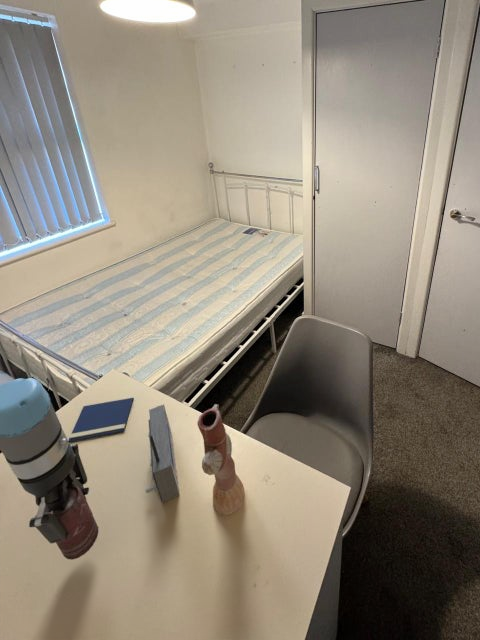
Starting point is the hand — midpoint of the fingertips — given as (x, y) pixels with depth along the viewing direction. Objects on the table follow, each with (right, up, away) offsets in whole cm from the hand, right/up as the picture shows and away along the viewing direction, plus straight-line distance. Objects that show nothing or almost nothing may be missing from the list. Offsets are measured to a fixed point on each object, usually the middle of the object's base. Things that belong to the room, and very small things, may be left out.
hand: (81, 528), depth 65 cm
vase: (+27, -3, +10) cm, 29 cm away
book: (-13, +6, +29) cm, 32 cm away
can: (0, -2, 0) cm, 2 cm away
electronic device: (+9, +1, +17) cm, 19 cm away
